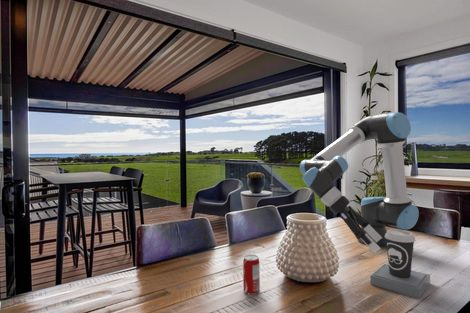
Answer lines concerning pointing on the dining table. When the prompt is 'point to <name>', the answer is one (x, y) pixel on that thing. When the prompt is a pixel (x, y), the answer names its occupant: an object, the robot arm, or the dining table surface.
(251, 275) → the soda can
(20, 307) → the dining table surface
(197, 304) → the dining table surface
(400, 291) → the slate base
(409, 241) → the coffee cup
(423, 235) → the dining table surface
